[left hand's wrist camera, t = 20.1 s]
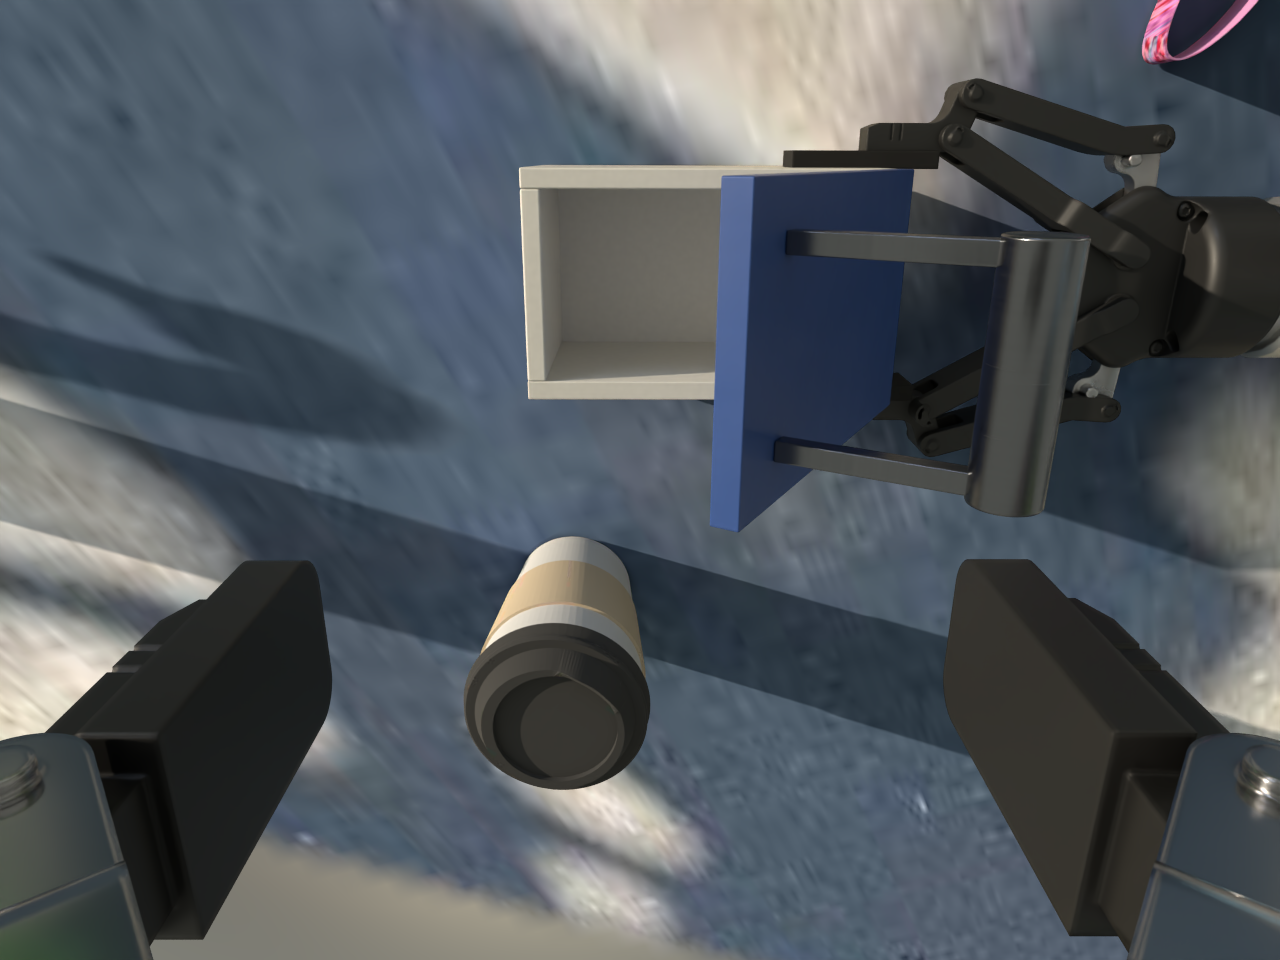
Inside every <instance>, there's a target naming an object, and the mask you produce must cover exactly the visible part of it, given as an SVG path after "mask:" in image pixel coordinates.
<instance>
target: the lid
mask: <svg viewBox="0 0 1280 960" xmlns="http://www.w3.org/2000/svg"><path fill="white" fill-rule="evenodd" d="M913 176H914V169H877V170H852V171H826V172H800V173H775V174H749V175H724V176H722V178H721V206H720V236H719V266H718V296H717V326H716V357H715V387H714V417H713V447H712V477H711V507H710V526H712V527H716V528H721V529H725V530H730V531H734V532H740V531H741V530H742V529H743V528H744V527H746V526H747V525H748V524H749V523H750V522H751V521H753V520H754V519H755V518H756V517H757V516H759V515H760V514H761V513H762V512H763V511H764V510H766V509H767V508H768V507H769V506H770V505H772V504H773V503H774V502H775V501H776V500H777V499H779V498H780V497H781V496H782V495H783V494H785V493H786V492H787V491H788V490H789V489H790V488H792V487H793V486H794V485H795V484H796V483H798V482H799V481H800V480H801V479H802V478H803V477H805V476H806V475H807V474H808V473H809V472H811V471H812V470H813V469H817V470H823V471H828V472H834V473H839V474H845V475H851V476H856V477H862V478H868V479H873V480H879V481H885V482H890V483H896V484H902V485H907V486H913V487H919V488H924V489H930V490H936V491H941V492H947V493H953V494H958V495H964V499H965V501H966V503H967V504H968V505H970V506H971V507H973V508H975V509H977V510H980V511H982V512H986V513H989V514H993V515H998V516H1005V517H1029V516H1034V515H1037V514H1039V513H1041V512H1042V511H1043V509H1044V507H1045V501H1046V495H1047V489H1048V484H1049V478H1050V472H1051V467H1052V461H1053V455H1054V449H1055V444H1056V438H1057V432H1058V426H1059V421H1060V415H1061V409H1062V403H1063V398H1064V392H1065V386H1066V380H1067V375H1068V369H1069V363H1070V358H1071V352H1072V346H1073V340H1074V335H1075V329H1076V323H1077V317H1078V312H1079V306H1080V300H1081V294H1082V289H1083V283H1084V277H1085V272H1086V266H1087V260H1088V254H1089V249H1090V243H1091V238H1090V236H1087V235H1084V234H1077V233H1066V232H1046V231H1014V232H1005V233H1002V234H1001V236H1000V237H977V236H954V235H931V234H909V233H908V224H909V215H910V205H911V196H912V186H913ZM905 262H912V263H929V264H946V265H963V266H980V267H996V270H995V277H994V285H993V292H992V299H991V306H990V313H989V320H988V327H987V335H986V342H985V349H984V356H983V363H982V370H981V378H980V385H979V392H978V399H977V406H976V413H975V421H974V428H973V435H972V442H971V449H970V456H969V463H968V466H965V465H959V464H953V463H947V462H940V461H934V460H928V459H922V458H916V457H909V456H903V455H897V454H891V453H885V452H878V451H872V450H866V449H860V448H854V447H847V446H841V445H842V444H844V443H845V442H846V441H847V440H848V439H850V438H851V437H852V436H853V435H854V434H855V433H857V432H858V431H859V430H860V429H861V428H863V427H864V426H865V425H866V424H867V423H868V422H870V421H871V420H872V419H873V418H874V417H876V416H877V415H878V414H879V413H880V412H881V411H883V410H884V409H885V408H886V407H887V406H889V404H890V397H891V387H892V377H893V368H894V358H895V349H896V339H897V330H898V320H899V310H900V301H901V291H902V282H903V272H904V263H905Z"/></svg>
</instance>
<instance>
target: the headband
mask: <svg viewBox="0 0 1280 960" xmlns="http://www.w3.org/2000/svg"><path fill="white" fill-rule="evenodd" d="M1258 1H1259V0H1236V1H1235V2H1234V3H1233V5H1232V6H1231V7H1230V8H1229V9H1228V11H1227V12H1226V13H1225V14H1224V15H1223V16H1222V17H1221V18H1220V20H1219V21H1218V22H1217V23H1216V24H1215V25H1214V26H1213V27H1212V28H1211V29H1210V30H1209V31H1208V32H1207V33H1206V34H1204V35H1203V36H1202V37H1201V38H1200V39H1199V40H1197V41H1196V42H1195V43H1194V44H1193V45H1191V46H1190V47H1188V48H1187V49H1186V50H1184V51H1183V52H1181V53H1179V54H1178V55H1176V56H1174V57H1172V56H1171V55H1170V54H1169V53H1168V50H1167V37H1168V32H1169V29H1170V25H1171V22H1172V19H1173V16H1174V14H1175V11H1176V9H1177V6H1178V4H1179V2H1180V0H1158V2H1157V4H1156V6H1155V9H1154V11H1153V13H1152V16H1151V18H1150V21H1149V24H1148V26H1147V29H1146V33H1145V36H1144V40H1143V46H1142V55H1143V58H1144V60H1145V61H1146V62H1147V63H1149V64H1161V63H1166V62H1172V61H1178V60H1183V59H1187V58H1190V57H1192V56H1194V55H1196V54H1198V53H1200V52H1202V51H1203V50H1205V49H1207V48H1208V47H1210V46H1211V45H1213V44H1214V43H1215V42H1217V41H1218V40H1219V39H1220V38H1222V37H1223V36H1224V35H1225V34H1226V33H1228V32H1229V31H1230V30H1231V29H1232V28H1233V27H1234V26H1235V25H1236V24H1237V23H1238V22H1239V21H1240V20H1241V19H1242V18H1243V17H1244V16H1245V15H1246V14H1247V13H1248V12H1249V11H1250V10H1251V9H1252V8H1253V6H1254V5H1255V4H1256V3H1257V2H1258Z"/></svg>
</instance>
